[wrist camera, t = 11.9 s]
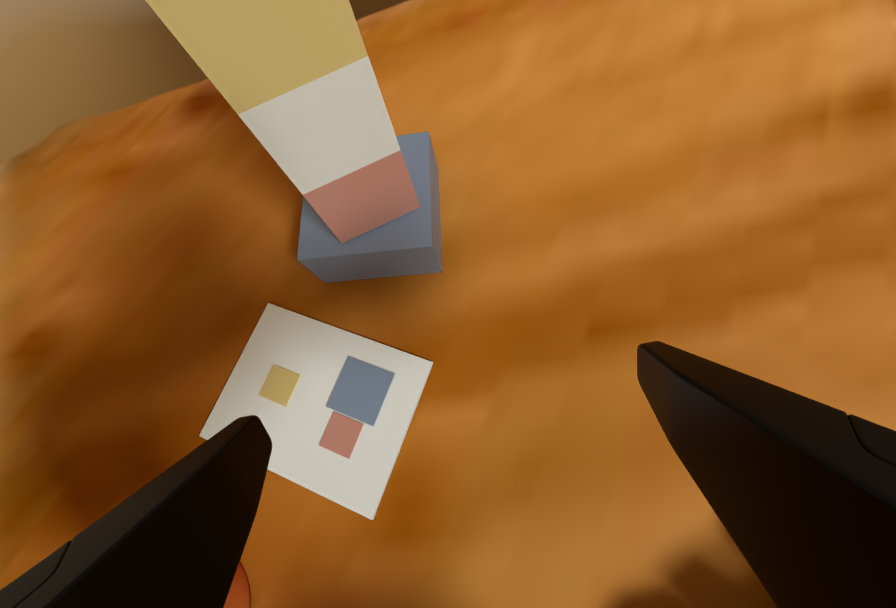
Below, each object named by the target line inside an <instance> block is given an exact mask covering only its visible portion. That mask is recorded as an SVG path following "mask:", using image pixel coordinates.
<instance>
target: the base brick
mask: <svg viewBox="0 0 896 608" xmlns="http://www.w3.org/2000/svg"><path fill="white" fill-rule="evenodd" d="M396 138H397V141H398V144H399V147H400V150H401V152H402V155H403V158H404V161H405V164H406V167H407V170H408V173H409V175H410V178H411V181H412V184H413V187H414V190H415V193H416V196H417V199H418V201H419V204H420V208H418V209H416V210H413V211H411V212H409V213H407V214H405V215H403V216H400V217H398V218H396V219H394V220H392V221H390V222H388V223H385V224H383V225H381V226H379V227H377V228H375V229H372V230H370V231H368V232H366V233H364V234H362V235H360V236H357V237H355V238H353V239H351V240H349V241H347V242H344V243H341V242H340V241H339V239H338V238H337V237H336V236H335V234H334V233H333V232H332V231H331V229H330V228H329V227H328V226H327V225H326V223H325V222H324V221H323V220H322V218H321V217H320V216H319V215H318V213H317V212H316V211H315V210H314V208H313V207H312V206H311V205H310V203H309V202H308V201H307V200H306V199H305V197H304V196H303V203H302V213H301V223H300V234H299V244H298V254H297V260H298V261H299V262H300V263H301V264H302V265H304V266H305V267H306V268H307V269H308V270H310V271H311V272H312V273H313V274H315V275H316V276H317V277H318V278H319V279H321V280H322V281H323V282H324V283H328V282H339V281H350V280H361V279H372V278H383V277H394V276H405V275H416V274H427V273H438V272H442V256H441V227H440V198H439V170H438V165H437V162H436V158H435V154H434V150H433V146H432V142H431V138H430V134H429V132H422V133H414V134H407V135H400V136H396Z"/></svg>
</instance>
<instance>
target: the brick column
mask: <svg viewBox="0 0 896 608" xmlns="http://www.w3.org/2000/svg"><path fill="white" fill-rule="evenodd" d="M146 1H147V3H148V4H149V5H150V6H151V8H152V9H153V10H154V11H155V13H156V14H157V15H158V16H159V17H160V18H161V20H162V21H163V22H164V24H165V25H166V26H167V27H168V29H169V30H170V31H171V32H172V34H173V35H174V36H175V37H176V39H177V40H178V41H179V42H180V43H181V45H182V46H183V47H184V49H185V50H186V51H187V52H188V53H189V55H190V56H191V57H192V58H193V60H194V61H195V62H196V63H197V65H198V66H199V67H200V68H201V70H202V71H203V72H204V73H205V75H206V76H207V77H208V78H209V80H210V81H211V82H212V83H213V84H214V86H215V87H216V88H217V89H218V91H219V92H220V93H221V94H222V96H223V97H224V98H225V99H226V101H227V102H228V103H229V104H230V106H231V107H232V108H233V109H234V111H235V112H236V113H237V114H238V115H239V117H240V118H241V119H242V120H243V122H244V123H245V124H246V125H247V127H248V128H249V129H250V130H251V132H252V133H253V134H254V135H255V137H256V138H257V139H258V140H259V141H260V143H261V144H262V145H263V146H264V148H265V149H266V150H267V151H268V153H269V154H270V155H271V156H272V158H273V159H274V160H275V161H276V163H277V164H278V165H279V166H280V168H281V169H282V170H283V171H284V172H285V174H286V175H287V176H288V177H289V179H290V180H291V181H292V182H293V184H294V185H295V186H296V187H297V189H298V190H299V191H300V192H301V194H302V195H303V196H304V197H305V199H306V200H307V201H308V202H309V203H310V205H311V206H312V207H313V208H314V210H315V211H316V212H317V213H318V215H319V216H320V217H321V218H322V220H323V221H324V222H325V223H326V225H327V226H328V227H329V228H330V229H331V231H332V232H333V233H334V234H335V236H336V237H337V238H338V239H339V241H340V242H341V243H344V242H347V241H349V240H351V239H353V238H355V237H357V236H360V235H362V234H364V233H366V232H368V231H370V230H372V229H375V228H377V227H379V226H381V225H383V224H385V223H388V222H390V221H392V220H394V219H396V218H398V217H400V216H403V215H405V214H407V213H409V212H411V211H413V210H416V209H418V208H420V204H419V201H418V199H417V196H416V193H415V190H414V187H413V184H412V181H411V178H410V175H409V173H408V170H407V167H406V164H405V161H404V158H403V155H402V152H401V150H400V147H399V144H398V141H397V138H396V135H395V132H394V129H393V126H392V124H391V121H390V118H389V115H388V112H387V109H386V106H385V103H384V101H383V98H382V95H381V92H380V89H379V86H378V83H377V80H376V77H375V75H374V72H373V69H372V66H371V63H370V60H369V57H368V54H367V52H366V49H365V46H364V43H363V40H362V37H361V34H360V31H359V28H358V26H357V23H356V20H355V17H354V14H353V11H352V8H351V5H350V3H349V0H146Z"/></svg>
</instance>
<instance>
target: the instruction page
mask: <svg viewBox="0 0 896 608" xmlns="http://www.w3.org/2000/svg"><path fill="white" fill-rule="evenodd" d="M432 365H433V362H431V361H428V360H425V359H423V358H420V357H417V356H414V355H411V354H409V353H406V352H403V351H400V350H398V349H395V348H392V347H389V346H386V345H384V344H381V343H378V342H375V341H373V340H370V339H367V338H364V337H362V336H359V335H356V334H353V333H350V332H348V331H345V330H342V329H339V328H337V327H334V326H331V325H328V324H325V323H323V322H320V321H317V320H314V319H312V318H309V317H306V316H303V315H300V314H298V313H295V312H292V311H289V310H287V309H284V308H281V307H278V306H276V305H273V304H270V303H268V304H267V306H266V308H265V310H264V312H263V314H262V316H261V318H260V320H259V321H258V323H257V325H256V327H255V329H254V331H253V333H252V335H251V337H250V339H249V341H248V343H247V344H246V346H245V348H244V350H243V352H242V354H241V356H240V358H239V360H238V362H237V364H236V366H235V368H234V369H233V371H232V373H231V375H230V377H229V379H228V381H227V383H226V385H225V387H224V389H223V391H222V393H221V394H220V396H219V398H218V400H217V402H216V404H215V406H214V408H213V410H212V412H211V414H210V416H209V418H208V419H207V421H206V423H205V425H204V427H203V429H202V431H201V433H200V435H199V436H200V437H202V438H204V439H206V440H208V439H210V438H211V437H212V436H214V435H215V434H216V433H218V432H219V431H221V430H222V429H223V428H225V427H226V426H227V425H229V424H230V423H231V422H233V421H234V420H236V419H237V418H239V417H244V416H250V415H256V416H258V417H259V418H260V420H261V422H262V423H263V425H264V427H265V429H266V431H267V432H268V434H269V436H270V438H271V441H272V452H271V456H270V460H269V464H268V468H267V469H268V470H270V471H272V472H274V473H276V474H278V475H280V476H282V477H284V478H286V479H289V480H291V481H293V482H295V483H297V484H299V485H301V486H303V487H305V488H307V489H309V490H311V491H313V492H315V493H317V494H319V495H321V496H324V497H326V498H328V499H330V500H332V501H334V502H336V503H338V504H340V505H342V506H344V507H346V508H348V509H350V510H352V511H354V512H356V513H359V514H361V515H363V516H365V517H367V518H369V519H371V520H373V519H374V516H375V514H376V511H377V509H378V506H379V503H380V501H381V498H382V495H383V493H384V490H385V488H386V485H387V482H388V480H389V477H390V475H391V472H392V469H393V467H394V464H395V462H396V459H397V456H398V454H399V451H400V449H401V446H402V443H403V441H404V438H405V436H406V433H407V430H408V428H409V425H410V423H411V420H412V417H413V415H414V412H415V410H416V407H417V404H418V402H419V399H420V397H421V394H422V391H423V389H424V386H425V383H426V381H427V378H428V376H429V373H430V370H431V368H432Z"/></svg>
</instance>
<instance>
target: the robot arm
mask: <svg viewBox="0 0 896 608" xmlns="http://www.w3.org/2000/svg"><path fill="white" fill-rule="evenodd" d="M637 376H638V381H639V383H640V386H641V388H642V390H643V392H644V394H645V396H646V398H647V400H648V402H649V403H650V405H651V407H652V409H653V411H654V413H655V415H656V417H657V419H658V421H659V423H660V425H661V427H662V429H663V431H664V433H665V435H666V437H667V439H668V441H669V442H670V444H671V446H672V447H673V449H674V451H675V452H676V454H677V455H678V457H679V458H680V460H681V461H682V463H683V464H684V466H685V468H686V469H687V471H688V472H689V474H690V475H691V477H692V478H693V480H694V481H695V483H696V484H697V486H698V487H699V489H700V490H701V492H702V493H703V495H704V496H705V498H706V499H707V501H708V502H709V504H710V506H711V507H712V509H713V510H714V512H715V513H716V515H717V516H718V518H719V519H720V521H721V522H722V524H723V525H724V527H725V528H726V530H727V531H728V533H729V534H730V536H731V537H732V539H733V540H734V542H735V544H736V545H737V547H738V548H739V550H740V551H741V553H742V554H743V556H744V557H745V559H746V560H747V562H748V563H749V565H750V566H751V568H752V569H753V571H754V572H755V574H756V575H757V577H758V578H759V580H760V582H761V583H762V585H763V586H764V588H765V589H766V591H767V592H768V594H769V595H770V597H771V598H772V600H773V601H774V603H775V604H776V606H777V607H778V608H896V431H894V430H892V429H889V428H886V427H883V426H881V425H878V424H875V423H873V422H870V421H867V420H865V419H862V418H860V417H857V416H854V415H848V416H847V414H846V413H845V412H844V411H841V410H838V409H836V408H833V407H831V406H828V405H825V404H823V403H820V402H817V401H815V400H812V399H809V398H807V397H804V396H802V395H799V394H796V393H794V392H791V391H788V390H786V389H783V388H781V387H778V386H775V385H773V384H770V383H767V382H765V381H762V380H760V379H757V378H754V377H752V376H749V375H746V374H744V373H741V372H739V371H736V370H733V369H731V368H728V367H725V366H723V365H720V364H718V363H715V362H712V361H710V360H707V359H704V358H702V357H699V356H697V355H694V354H691V353H689V352H686V351H683V350H681V349H678V348H676V347H673V346H670V345H668V344H665V343H662V342H660V341H654V342H648V343H643V344H640V345H639V346H638V349H637ZM271 452H272V441H271V438H270V436H269V434H268V432H267V431H266V429H265V427H264V425H263V423H262V422H261V420H260V418H259V417H258V416H256V415H250V416H244V417H239V418H237V419H236V420H234V421H233V422H231V423H230V424H229V425H227V426H226V427H225V428H223V429H222V430H221V431H219V432H218V433H216V434H215V435H214V436H212V437H211V438H210V439H208V440H207V441H205V442H204V443H203V444H201V445H200V446H199V447H197V448H196V449H194V450H193V451H192V452H190V453H189V454H188V455H186V456H185V457H184V458H182V459H181V460H179V461H178V462H177V463H175V464H174V465H173V466H171V467H170V468H168V469H167V470H166V471H164V472H163V473H162V474H160V475H159V476H158V477H156V478H155V479H153V480H152V481H151V482H149V483H148V484H147V485H145V486H144V487H142V488H141V489H140V490H138V491H137V492H136V493H134V494H133V495H131V496H130V497H129V498H127V499H126V500H125V501H123V502H122V503H121V504H119V505H118V506H116V507H115V508H114V509H112V510H111V511H110V512H108V513H107V514H105V515H104V516H103V517H101V518H100V519H99V520H97V521H96V522H94V523H93V524H92V525H90V526H89V527H88V528H86V529H85V530H84V531H82V532H81V533H79V534H78V535H77V536H75V537H74V538H73V540H72V541H68V542H67V543H66V544H64V545H63V546H61V547H60V548H59V549H57V550H56V551H55V552H53V553H52V554H51V555H49V556H48V557H46V558H45V559H44V560H42V561H41V562H39V563H38V564H37V565H35V566H34V567H32V568H31V569H30V570H28V571H27V572H25V573H24V574H23V575H21V576H20V577H18V578H17V579H16V580H14V581H13V582H11V583H10V584H9V585H7V586H6V587H4V588H3V589H1V590H0V608H224V605H225V602H226V599H227V596H228V593H229V590H230V588H231V585H232V582H233V579H234V576H235V573H236V570H237V567H238V565H239V562H240V559H241V556H242V553H243V550H244V547H245V544H246V542H247V539H248V536H249V533H250V530H251V527H252V524H253V521H254V518H255V515H256V512H257V508H258V505H259V501H260V497H261V493H262V489H263V485H264V481H265V477H266V472H267V468H268V464H269V460H270V456H271Z"/></svg>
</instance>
